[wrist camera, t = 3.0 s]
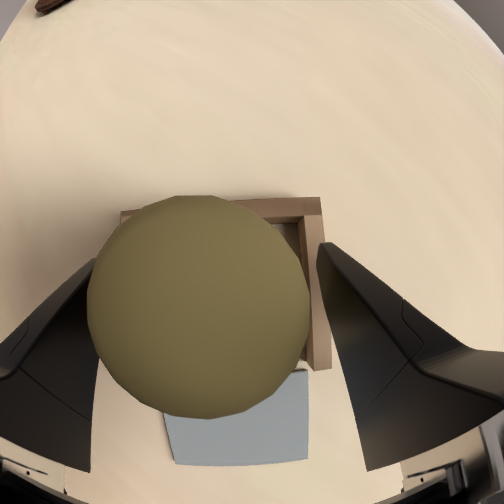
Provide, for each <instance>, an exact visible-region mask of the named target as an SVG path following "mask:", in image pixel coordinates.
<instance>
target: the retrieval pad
mask: <svg viewBox="0 0 504 504" xmlns="http://www.w3.org/2000/svg"><path fill="white" fill-rule="evenodd" d="M164 418H165V423H166V427H167V432H168V436H169V440H170V444H171V448H172V452H173V456H174V460H175V463H176V464H180V465H195V466H246V465H261V464H273V463H282V462H290V461H297V460H303V459H308V420H309V405H308V370H300V371H293V372H292V373H291V374H290V375H289V376H288V378H287V379H286V380H285V381H284V382H283V384H282V385H281V386H280V387H279V388H278V389H277V391H276V392H275V393H274V394H273V395H272V396H270V397H268V398H267V399H265V400H263V401H262V402H260V403H258V404H257V405H255V406H253V407H252V408H250V409H248V410H247V411H245V412H243V413H239V414H234V415H230V416H226V417H221V418H216V419H211V420H206V419H194V418H184V417H176V416H171V415H168V414H166V413H164Z"/></svg>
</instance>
